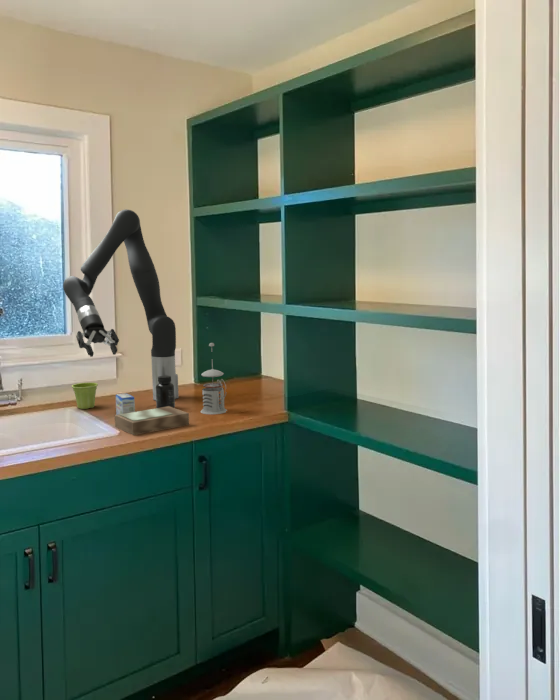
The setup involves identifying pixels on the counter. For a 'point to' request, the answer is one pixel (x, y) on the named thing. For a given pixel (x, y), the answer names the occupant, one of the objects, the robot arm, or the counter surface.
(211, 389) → the french press
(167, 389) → the supplement bottle
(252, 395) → the counter surface
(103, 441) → the counter surface
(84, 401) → the plant pot
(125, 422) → the stand
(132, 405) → the medicine box
